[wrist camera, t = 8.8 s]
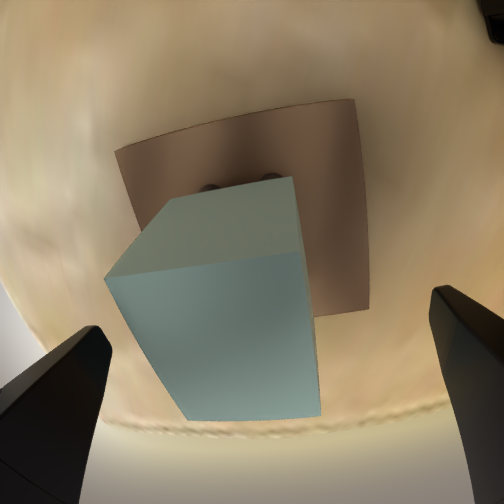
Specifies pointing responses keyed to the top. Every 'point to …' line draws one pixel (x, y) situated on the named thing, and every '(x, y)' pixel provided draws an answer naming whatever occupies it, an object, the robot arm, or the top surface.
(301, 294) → the teal block
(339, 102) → the peg stand
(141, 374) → the top surface
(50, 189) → the top surface
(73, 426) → the robot arm
